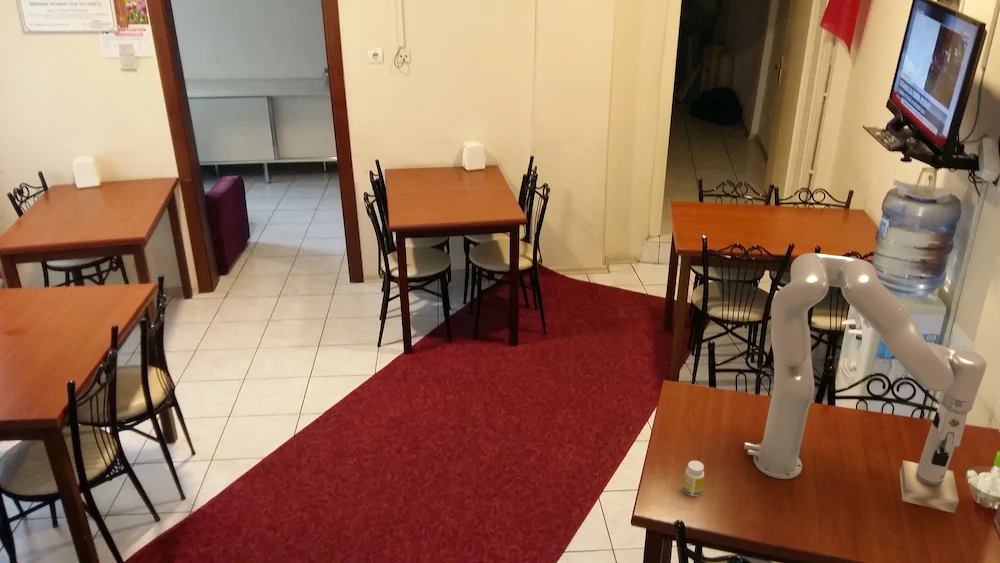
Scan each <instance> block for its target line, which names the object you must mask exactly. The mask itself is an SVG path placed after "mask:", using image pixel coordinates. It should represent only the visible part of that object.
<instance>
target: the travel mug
mask: <svg viewBox="0 0 1000 563" xmlns="http://www.w3.org/2000/svg"><path fill="white" fill-rule="evenodd" d="M939 421H940V420H939V419H938V411H937V410H936V412H935V415H934V417H933V420H932V422H931V424H930V425H931V426H930V428H929V432H928V435H927V438H926V441H925V444H924V447H923V450H922V453H921V457H920V459H919V463H918V464H919V465H918V468H917V471H916V475H917V477H918V478H919V479H920V480H921V481H923V482H925V483H927V484H930V485H939V484H941V483H942V482H943V480H944V477H945V474H946V471H947V470H948V468H949V464H950V462H951V459H952V457H953V453H954V451H955V448H956V447H955V446H954V444H953V442H952V449H951V453H950V455H949V458H948V461H947V464H946V466H945V467H942V466H938V465H934V464H932V463H931V461H932V458H933V455H934V452H935V450H936V451H937V447H938V441H937V439H936V436H937V429H938V425H939ZM943 442H946V439H944V440H943ZM944 447H945V445H944V444H942V445H941V448H944Z"/></svg>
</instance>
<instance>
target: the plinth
mask: <svg viewBox="0 0 1000 563" xmlns="http://www.w3.org/2000/svg"><path fill="white" fill-rule="evenodd" d="M918 465H919V463H917V462H913V461H909V460H905V459H904V460H903V459H902V462H901V465H900V468H899V470H898V471H899V481H900V489H901V490H900V492H901V500H902V502H905V503H909V504H915V505H918V506H923V507H926V508H931V509H935V510H940V511H944V512H948V513H952V514H955V513H956V511H957V507H958V505H959V502H960V501H959V500H960V499H959V495H958V490H957V489H958V488H957V485H956V479H955V475H954V471H953V470H950V469H947V471H946V474H945V477H944V480H943V482H942V483H941V484H939V485H930V484H927V483H925V482H923V481H921V480H920V479H919V478H918V477H917V475H916V471H917V468H918Z"/></svg>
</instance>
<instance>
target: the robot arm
mask: <svg viewBox="0 0 1000 563" xmlns="http://www.w3.org/2000/svg"><path fill="white" fill-rule="evenodd" d="M829 287H836V288H840V290H841V293H842V296H843V298H844V299H845V300H846V302H847V303H848V304H849V305H850V306H851V307H852V308H853V310H855V312H857V314H859V316H860V317H862V319H863V320H864V321H865V322H866V323H867V324H868V325H869V326H870V327H871V328H872V329H873V330H874V331H875V333H876V334H877V335H878V336H879V337H880V339H881V340H882V342H883V343H884V345H885V346H886V347H887V348H888V349H889V351H890V352H891V353H892V355H893V356H894V357H895V359H896V360H897V361H898V363H899V364H900V365H901V366H902V367H903V369H904V370H905V371H906V372H907V374H909V375H910V377H912V378H913V379H914V380H915V382H917V384H919V385H920V387H922V388H923V389H925V390H927V391H929V392H936V393H937V392H939V393H938V394H937V399H936V400H937V403H938V407H937V410H936V412H937V411H938V419H939V420H940V421H939V425H938V429H937V436H936V439H937V441H938V447H937V451H936V450H935V452H934V455H933V458H932V461H931V463H932V464H934V465H938V466H942V467H945V466H946V464H947V461H948V458H949V455H950V453H951V449H952V442H953V444H954V446H955V448H958V447H959V446H960V445H961V441H962V437H963V434H964V431H965V426H966V423H967V417H968V413H969V412H971V411H972V410H973V406H974V404H975V400H976V398H977V395H978V392H979V389H980V386H981V384H982V380H983V378H984V375H985V372H986V369H987V361H986V359H985V358H984V357H983V356H982V355H980V354H979V353H976V352H974V351H971V350H965V349H964V350H958V349H953V348H950V347H947V346H944V345H941V344H938V343H935V342H934V343H933V342H927V341H926V340H925V338H924V337H923V335H922V334H921V332H920V331H921V330H919V328H918V325H917V323H916V322H915V320H914V318H913V317H912V315H911V314H910V312H909V311H908V310H907V309H906V308H905V307H904V306H903V305H902V304H901V302H900V301H898V299H897V298H896V297H895V296H894V295H893V294H892V293H891V292H890V291H889V290H888V288H887V287H886V286H885V285H884V284H883V283H882V282H881V281H880V280H879V278H878V274H877V270H876V268H875V266H874V265H873V264H871V263H870V262H869V261H867V260H865V259H860V258H855V257H849V256H842V255H836V254H835V255H833V254H826V253H817V252H808V253H803V254H801V255H799V256H797V257H796V258H795V259H794V260H793V261H792V262H791V266H790V282H789V283H787V284H786V285H784V286H783V287H782V288H780V289H779V290H778V291H777V292H776V293H775V295H774V296H773V298H772V301H771V306H770V307H771V308H770V312H771V313H770V314H771V315H770V316H771V328H770V329H771V330H770V333H771V336H770V339H771V348H772V353H773V364H774V367H773V369H774V372H773V373H774V374H773V375H774V376H773V377H774V378H773V379H774V380H773V382H774V383H773V391H772V395H771V396H772V397H771V398H770V403H769V408H768V414H767V419H766V424H765V429H764V434H763V439H762V440H761V441H760V443H752V442H747V441H744V446H743V447H744V450H748V451H747V455H751V456H753V463H754V465H755V466H756V468H757V469H758V470H759V471H760V472H762V473H763V474H765V475H767V476H769V477H771V478H775V479H778V480H779V479H780V480H790V479H793V478H796V477H798V476H799V475H800V474H801V473H802V469H803V462H802V461H801V459H800V457H799V455H800V449H801V445H802V440H803V437H804V436H803V435H804V433H805V432H804V431H805V427H806V424H807V420H808V414H809V411H810V407H811V404H812V402H813V398H814V395H815V379H814V377H815V376H814V370H813V361H812V360H813V359H812V349H811V348H812V340H811V338H812V337H811V331H810V330H811V329H810V326H809V324H808V323H809V322H808V321H809V318H808V317H809V315H808V312H809V310H810V308H812V307H813V306H814V305H816V304H817V303H819V302H821V301H822V300H823V299H824V298H825V297H826V296H827V293H828V291H829ZM944 439H946V442H943V440H944ZM942 444H944V445H945V447H944V448H941V445H942Z"/></svg>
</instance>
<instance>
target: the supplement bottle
mask: <svg viewBox="0 0 1000 563" xmlns="http://www.w3.org/2000/svg"><path fill="white" fill-rule="evenodd" d="M704 468H705V466H704V464H703V463H702V462H701V461H700V460H690V461H689V462H688V464H687V467H686V469H685V475H684V482H683V483H684V484H683V491H684V493H685V492H686V494H687V495H688V496H690V495H691V496H692V497H698V496H700V495H701V494H702V493H703V487H704V481H705V469H704Z"/></svg>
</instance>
